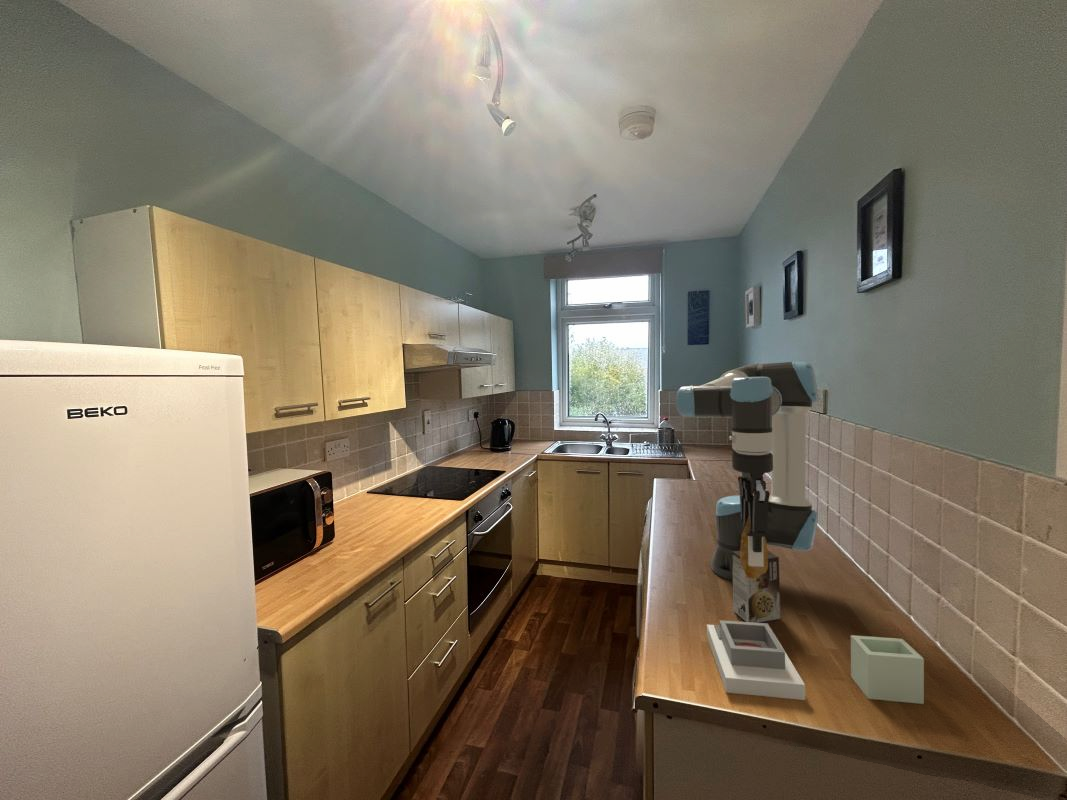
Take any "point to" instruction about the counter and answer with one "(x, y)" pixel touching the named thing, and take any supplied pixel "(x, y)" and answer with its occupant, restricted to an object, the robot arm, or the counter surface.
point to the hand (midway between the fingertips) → (754, 562)
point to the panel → (753, 661)
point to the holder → (887, 669)
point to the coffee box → (756, 591)
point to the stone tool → (749, 570)
